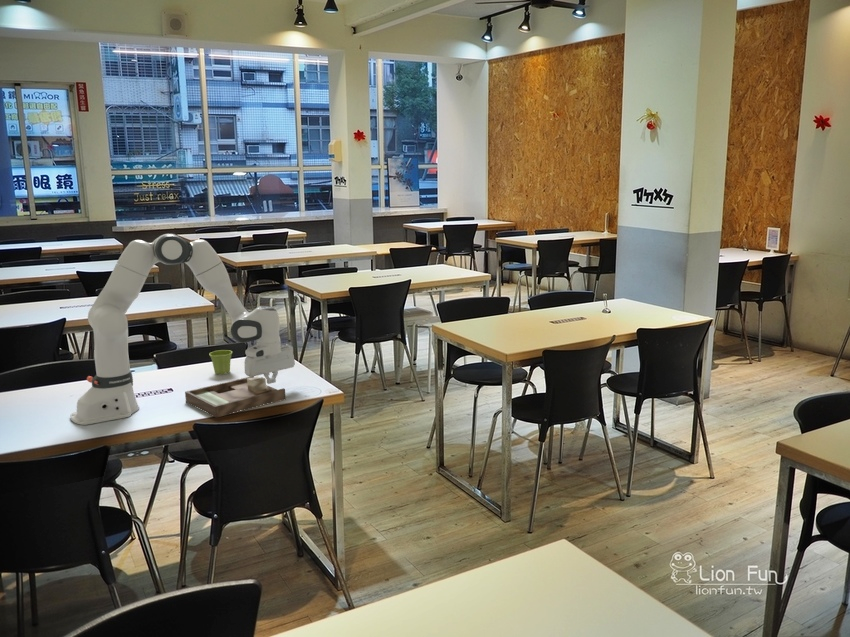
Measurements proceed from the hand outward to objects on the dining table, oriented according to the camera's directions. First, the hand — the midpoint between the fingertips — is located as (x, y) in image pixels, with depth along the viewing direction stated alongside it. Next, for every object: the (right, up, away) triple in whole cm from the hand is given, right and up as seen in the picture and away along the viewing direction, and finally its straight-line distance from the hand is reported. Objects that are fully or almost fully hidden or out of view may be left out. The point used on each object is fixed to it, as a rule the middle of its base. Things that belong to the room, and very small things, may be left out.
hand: (271, 382), depth 279 cm
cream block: (-5, -2, -4) cm, 6 cm away
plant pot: (-27, +2, +27) cm, 38 cm away
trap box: (-11, -6, -9) cm, 16 cm away
